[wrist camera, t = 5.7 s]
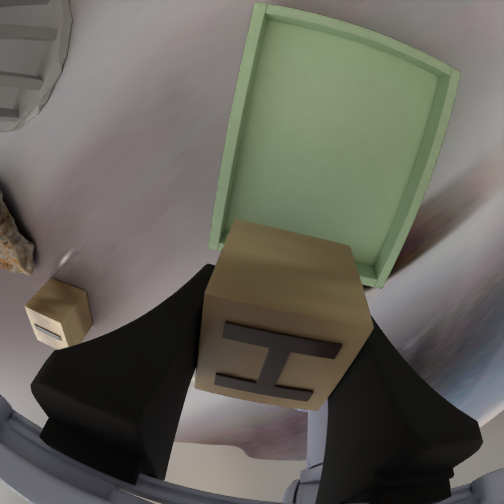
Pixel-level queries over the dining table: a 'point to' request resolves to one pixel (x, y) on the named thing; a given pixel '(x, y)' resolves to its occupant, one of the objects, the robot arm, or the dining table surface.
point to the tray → (332, 135)
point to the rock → (14, 245)
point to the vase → (30, 56)
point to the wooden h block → (280, 318)
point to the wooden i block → (59, 314)
